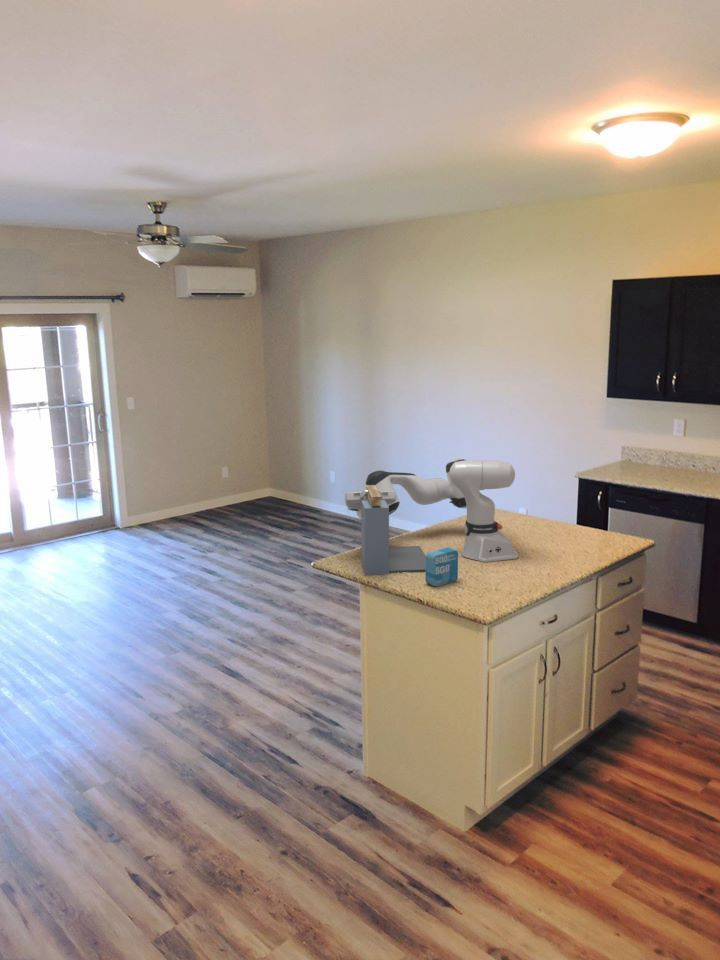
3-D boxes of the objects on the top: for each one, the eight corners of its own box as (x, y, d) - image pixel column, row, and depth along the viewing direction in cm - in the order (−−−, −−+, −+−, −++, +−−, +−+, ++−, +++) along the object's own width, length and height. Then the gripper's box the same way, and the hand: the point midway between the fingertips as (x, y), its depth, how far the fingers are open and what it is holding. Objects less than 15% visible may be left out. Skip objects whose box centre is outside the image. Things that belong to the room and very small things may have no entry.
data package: (433, 587, 268) (433, 555, 266) (425, 584, 272) (425, 552, 269) (457, 580, 275) (458, 549, 272) (449, 577, 279) (450, 546, 276)
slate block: (384, 564, 293) (384, 500, 288) (388, 574, 282) (389, 507, 276) (361, 565, 292) (361, 500, 287) (364, 575, 281) (364, 508, 275)
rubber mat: (419, 548, 314) (419, 545, 314) (433, 571, 285) (433, 569, 285) (379, 549, 312) (379, 547, 312) (389, 573, 283) (389, 570, 283)
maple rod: (374, 493, 296) (374, 485, 295) (381, 506, 276) (381, 496, 276) (365, 493, 295) (365, 485, 295) (371, 506, 276) (371, 497, 275)
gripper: (394, 508, 302) (399, 499, 289) (344, 510, 300) (346, 500, 287) (393, 493, 304) (398, 483, 291) (343, 495, 302) (345, 484, 288)
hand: (372, 492), depth 289 cm, fingers closed on maple rod, 3 cm apart
